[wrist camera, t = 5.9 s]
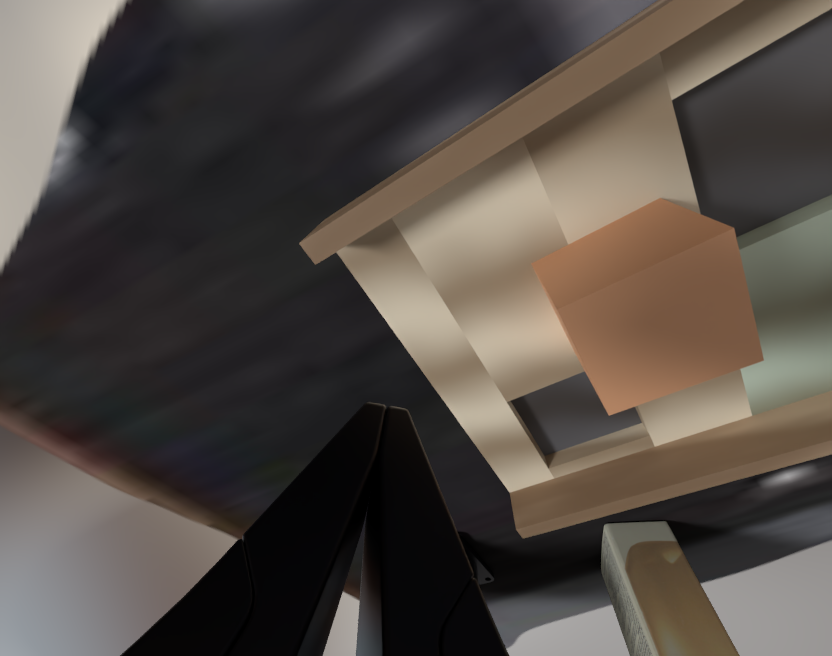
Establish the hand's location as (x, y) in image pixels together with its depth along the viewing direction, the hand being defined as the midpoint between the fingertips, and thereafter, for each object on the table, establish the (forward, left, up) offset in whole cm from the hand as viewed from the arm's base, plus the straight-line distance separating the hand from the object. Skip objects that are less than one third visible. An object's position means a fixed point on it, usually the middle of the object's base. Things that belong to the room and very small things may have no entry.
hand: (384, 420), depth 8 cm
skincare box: (-28, -2, -12) cm, 30 cm away
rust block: (-6, -7, -11) cm, 14 cm away
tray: (-7, -8, -12) cm, 16 cm away
